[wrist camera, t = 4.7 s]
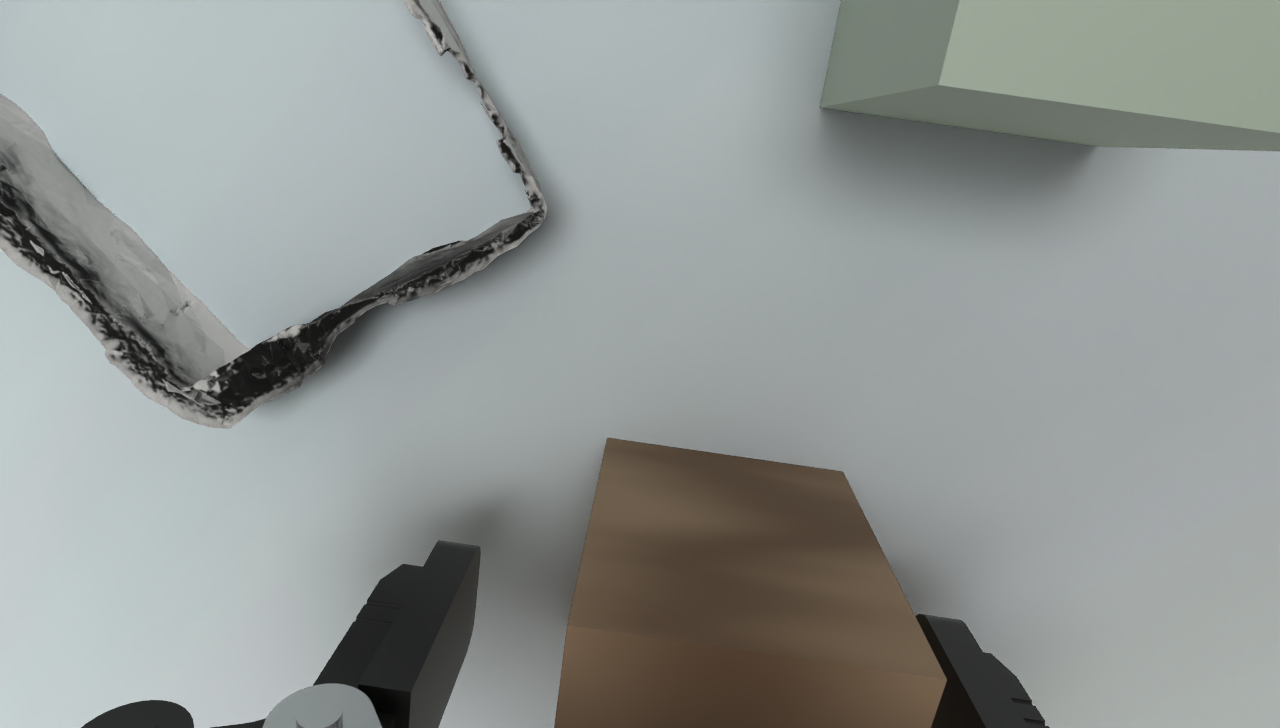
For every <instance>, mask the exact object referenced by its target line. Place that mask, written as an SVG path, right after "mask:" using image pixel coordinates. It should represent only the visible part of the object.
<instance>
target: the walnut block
mask: <svg viewBox="0 0 1280 728" xmlns="http://www.w3.org/2000/svg"><path fill="white" fill-rule="evenodd" d="M946 682H947V679H946V677H945V675H944V673H943V671H942V669H941V667H940V665H939V663H938V661H937V659H936V657H935V655H934V653H933V651H932V649H931V647H930V645H929V643H928V641H927V639H926V637H925V635H924V633H923V631H922V629H921V627H920V625H919V623H918V621H917V619H916V617H915V615H914V613H913V611H912V609H911V607H910V605H909V603H908V601H907V599H906V597H905V595H904V593H903V591H902V589H901V587H900V585H899V583H898V581H897V579H896V577H895V575H894V573H893V571H892V569H891V567H890V565H889V563H888V561H887V559H886V557H885V555H884V553H883V551H882V549H881V547H880V545H879V543H878V541H877V539H876V537H875V535H874V533H873V531H872V529H871V527H870V525H869V523H868V521H867V519H866V517H865V515H864V513H863V511H862V509H861V507H860V505H859V503H858V501H857V499H856V497H855V495H854V493H853V491H852V489H851V487H850V485H849V483H848V481H847V479H846V477H845V475H844V473H843V472H842V471H835V470H828V469H821V468H814V467H807V466H800V465H793V464H786V463H779V462H772V461H765V460H758V459H751V458H745V457H738V456H731V455H724V454H717V453H710V452H703V451H696V450H689V449H682V448H675V447H668V446H661V445H655V444H648V443H641V442H634V441H627V440H620V439H613V438H607V442H606V447H605V451H604V456H603V461H602V465H601V470H600V475H599V479H598V484H597V489H596V493H595V498H594V503H593V507H592V512H591V517H590V521H589V526H588V531H587V535H586V540H585V545H584V549H583V554H582V559H581V563H580V568H579V573H578V577H577V582H576V587H575V591H574V596H573V600H572V605H571V610H570V614H569V619H568V624H567V631H566V639H565V647H564V655H563V663H562V671H561V679H560V687H559V695H558V703H557V711H556V719H555V727H554V728H931V726H932V723H933V720H934V717H935V714H936V711H937V708H938V705H939V702H940V699H941V696H942V693H943V690H944V687H945V684H946Z"/></svg>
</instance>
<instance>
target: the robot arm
mask: <svg viewBox="0 0 1280 728" xmlns="http://www.w3.org/2000/svg"><path fill="white" fill-rule="evenodd" d="M479 565H480V547H479V546H474V545H467V544H460V543H454V542H447V541H440V540H439V541H438V542H437V543H436V545H435V547H434V549H433V550H432V552H431V554H430V556H429V558H428V559H427V561H426V563H425V565H424V567H420V566H413V565H406V564H402V565H401V566H400V567H398V568H397V569H395V570H394V571H392V572H391V573H390V574H388V575H387V576H385V577H384V578H382V579H381V580H380V581H379V583H378V584H377V586H376V587H375V589H374V591H373V592H372V594H371V595H370V597H369V598H368V600H367V604H365V605H364V606H363V608H362V609H361V611H360V613H359V614H358V616H357V618H356V621H355V622H353V623H352V625H351V627H350V628H349V630H348V631H347V633H346V634H345V636H344V638H343V639H342V641H341V642H340V644H339V645H338V647H337V649H336V650H335V652H334V653H333V655H332V656H331V658H330V660H329V661H328V663H327V664H326V666H325V667H324V669H323V671H322V672H321V674H320V675H319V677H318V678H317V680H316V682H315V683H314V685H313V686H311V687H307V688H305V689H302V690H299V691H297V692H295V693H293V694H291V695H290V696H288V697H287V698H285V699H283V700H282V701H281V702H280V703H279V704H277V705H276V706H275V707H274V709H273V710H272V711H271V712H270V713H269V715H268V716H267V718H266V719H262V720H259V721H255V722H251V723H245V724H238V725H229V726H221V727H212V728H438V727H439V724H440V721H441V719H442V716H443V713H444V711H445V708H446V706H447V703H448V700H449V698H450V695H451V692H452V690H453V687H454V685H455V682H456V679H457V677H458V674H459V672H460V669H461V666H462V664H463V661H464V658H465V656H466V653H467V650H468V647H469V643H470V639H471V635H472V630H473V624H474V618H475V608H476V597H477V586H478V576H479ZM915 617H916V619H917V621H918V623H919V625H920V627H921V629H922V631H923V633H924V635H925V637H926V639H927V641H928V643H929V645H930V647H931V649H932V651H933V653H934V655H935V657H936V659H937V661H938V663H939V665H940V667H941V669H942V671H943V673H944V675H945V677H946V679H947V682H946V684H945V687H944V690H943V693H942V696H941V699H940V702H939V705H938V708H937V711H936V714H935V717H934V720H933V723H932V726H931V728H1049V727H1048V726H1045V720H1044V719H1043V717H1042V716H1041V714H1040V713H1039V711H1038V710H1037V708H1036V706H1033V705H1032V700H1031V699H1030V697H1029V696H1028V694H1027V693H1026V691H1025V689H1024V688H1023V686H1022V685H1021V683H1020V682H1019V680H1018V679H1017V677H1016V676H1015V675H1014V674H1013V673H1012V672H1011V671H1010V670H1008V669H1007V668H1006V667H1005V666H1004V665H1003V664H1002V663H1001V662H1000V661H999V660H997V659H996V658H995V657H994V656H993V655H992V654H990V653H984V652H982V650H981V648H980V647H979V645H978V643H977V642H976V640H975V639H974V637H973V635H972V634H971V632H970V630H969V629H968V627H967V626H966V624H965V623H964V622H963V621H961V620H956V619H950V618H943V617H936V616H930V615H923V614H918V615H917V616H915ZM81 728H194V724H193V719H192V717H191V715H190V713H189V712H188V711H187V710H186V709H185V708H184V707H182V706H180V705H178V704H176V703H173V702H168V701H163V700H149V701H140V702H135V703H130V704H127V705H123V706H120V707H117V708H115V709H112V710H110V711H107V712H105V713H103V714H101V715H99V716H98V717H96V718H94V719H93V720H91V721H90V722H88V723H87V724H85V725H84V726H83V727H81Z"/></svg>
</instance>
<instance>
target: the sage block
mask: <svg viewBox="0 0 1280 728" xmlns="http://www.w3.org/2000/svg"><path fill="white" fill-rule="evenodd" d="M820 108H827V109H835V110H842V111H849V112H856V113H863V114H870V115H877V116H884V117H891V118H898V119H905V120H913V121H920V122H927V123H934V124H941V125H948V126H955V127H962V128H969V129H976V130H983V131H991V132H998V133H1005V134H1012V135H1019V136H1026V137H1033V138H1040V139H1047V140H1054V141H1062V142H1069V143H1076V144H1083V145H1090V146H1102V147H1140V148H1178V149H1216V150H1254V151H1280V0H841V4H840V9H839V14H838V19H837V24H836V29H835V34H834V39H833V44H832V49H831V54H830V59H829V64H828V69H827V74H826V79H825V84H824V88H823V93H822V98H821V103H820Z"/></svg>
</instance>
